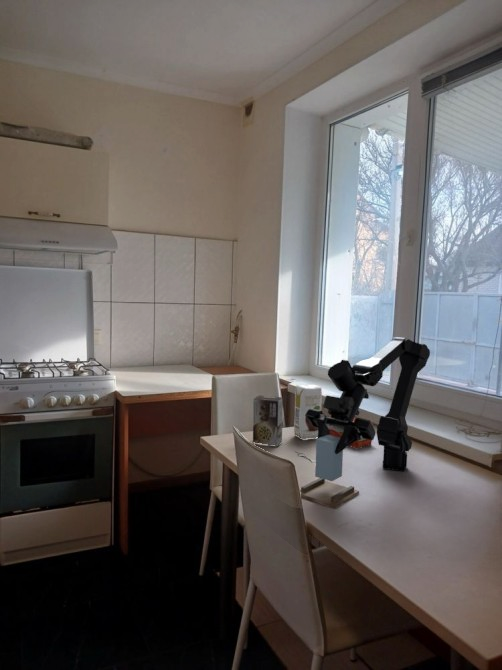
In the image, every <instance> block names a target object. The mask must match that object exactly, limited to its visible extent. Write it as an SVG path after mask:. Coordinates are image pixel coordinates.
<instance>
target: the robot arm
mask: <svg viewBox="0 0 502 670" xmlns="http://www.w3.org/2000/svg"><path fill="white" fill-rule="evenodd" d="M430 354H431V350H430V349H429V348H428V346H427V344H425V343H419V342H416V341H413V340H411V339H409V338H407V337H399V336H398V337H397V336H394V337H392V338H391V340H390V342H388V343H387V344H386V345H385V346H383V348H381V349H380V350H379V351H377V353H375V354H374V355H373V356H372V357H370V358H368V359H367V358H366V359H363V360H360V361H358V362H357V363H355V364H353V366H352V365H351V363H350V361H349V360H348V359H341V360H340V361H339V362H337V363H335V364H333V365H332V366H330V367H329V369H328V371H327V376H328V377H329V379H330V380H331V381H332V383H333V385H334V386H335V388H336V389H337V390H338V391H339V392H342V393H341V395H340V397H337V396H332V395H325V398H324V402H323V406H322V408H324V409H327V414H328V415H330V416H326V415H325V414H324V412H323V410H322V409H321V410H316V409H308V411H307V412H306V414H305V416H306V418H307V419H308V421H309V423H310V424H311V426H313V427H315V428H318V438H320V437H323V436H325V435H329V434H330V430H329V429H328V426H329V425H334V426H338V427H343V428H344V431H343V434H342V436H341V438H340V440H339V443H338V445H337V447H336V450H335V453H336V454H338V453H340V452H341V451H342V450H343V451H344V450H345V449H346V448H347V447H350V446H349V445H350V444H352V443H353V442H355V441H357V440H361V437H360V436H362V438H363V439H368V440H372V441H374V439H375V436H376V438H377V442H378V446H383V458H382V470H383V469H385V470H392V471H401V472H402V471H403V472H405V471H406V468H408V467H407V466H408V465H407V463H408V452H410V450H411V449H412V445H413V441H412V440H411V438H410V437H409V435H408V430H409V429H408V428H409V427H408V423H407V421H406V415H407V412H408V409H409V404H410V402H411V397H412V395H413V390H414V388H415V384H416V380H417V377H418V374H419V372H421V370H422V369H424V368H425V367H426V365H427V362H428V360H429V358H430ZM397 359H398V360H399V363H400V368H401V369H400V373H399V376H398V379H397V384H396V386H395V389H394V394H393V397H392V400H391V404H390V407H389V411H388V412H387V414H386V415H385V416H384V415H381V416H380V417H379V422H378V425H377V427H376V430H375V428H374V426H373V423H372V422H371V420H370V419H365V418H360V417H356V416H360V410H359V408H360V407H361V404H362V402H363V399H364V400H365V399H366V400H368V399H370V397H369V393H368V389H367V388H365V387H364V386H369V387H375V386H376V385H377V384H379V382H380V381H381V379H382V378H383V376H384V375H383V374H384V371H385V370H386V369H387V368H388V367H389V366H390V365H392V363H394V362H395V361H396V360H397ZM354 418H355V421H354V422H353V420H354ZM371 423H372V424H371Z"/></svg>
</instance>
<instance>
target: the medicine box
mask: <svg viewBox="0 0 502 670" xmlns="http://www.w3.org/2000/svg"><path fill="white" fill-rule="evenodd" d="M355 419H356V417H355V418H354V420H353V422H354V421H355ZM371 424H372V425H373V422H371ZM328 429H329V430H330V434H329V435H330V436H334V437H338V438H341V436H342V434H343V431H344V428H343V427H338V426H334V425H329V426H328ZM360 437H361V440H357V441H355V442H353V443H352V444H350V445H349V446H348V447H350V446H352V447H351V448H353V447H354V449H356V448H357V450H358V449H361V447H362V448H364V447H368V445H369V446H371V445H372V441H373V440H368V439H363V438H362V436H360Z"/></svg>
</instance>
